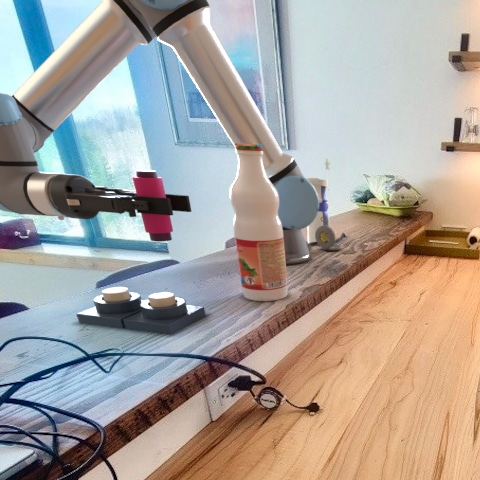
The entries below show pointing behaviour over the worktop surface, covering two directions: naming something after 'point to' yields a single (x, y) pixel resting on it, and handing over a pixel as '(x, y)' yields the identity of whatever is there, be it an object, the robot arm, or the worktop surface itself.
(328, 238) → the pocket watch
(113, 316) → the eye block
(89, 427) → the worktop surface
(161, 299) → the eye pad
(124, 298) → the eye pad
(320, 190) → the water bottle
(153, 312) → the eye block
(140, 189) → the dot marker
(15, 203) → the robot arm
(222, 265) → the worktop surface
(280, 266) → the fruit juice
